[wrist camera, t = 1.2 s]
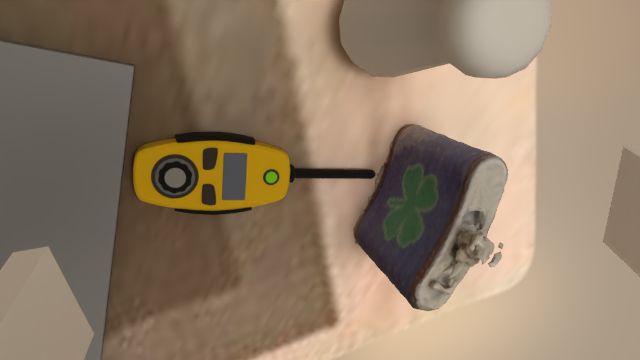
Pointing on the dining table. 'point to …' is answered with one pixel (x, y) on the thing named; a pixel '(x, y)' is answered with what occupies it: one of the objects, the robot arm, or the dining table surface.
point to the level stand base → (64, 165)
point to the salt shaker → (444, 35)
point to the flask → (431, 214)
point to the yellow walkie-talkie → (218, 173)
